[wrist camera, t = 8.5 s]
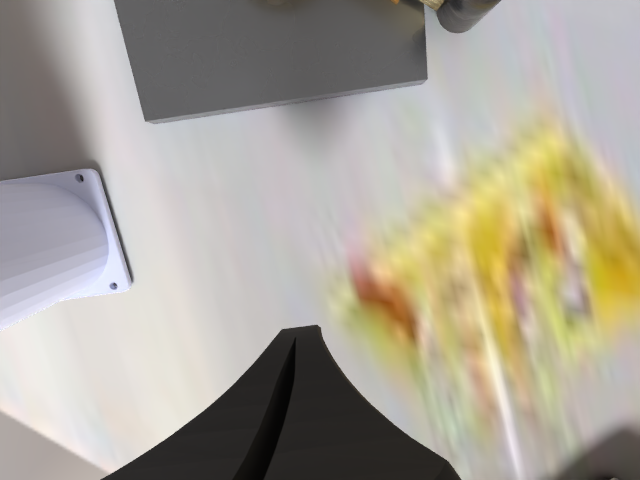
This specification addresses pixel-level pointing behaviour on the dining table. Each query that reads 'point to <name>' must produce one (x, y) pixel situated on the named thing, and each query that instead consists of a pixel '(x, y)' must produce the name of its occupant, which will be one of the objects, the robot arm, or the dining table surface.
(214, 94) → the stand base
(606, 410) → the dining table surface
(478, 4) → the tan piece
